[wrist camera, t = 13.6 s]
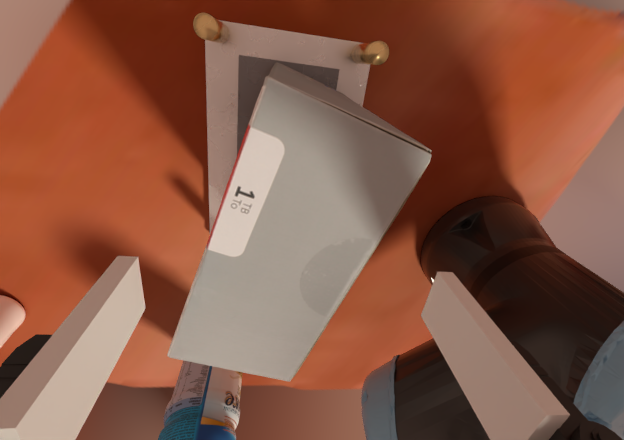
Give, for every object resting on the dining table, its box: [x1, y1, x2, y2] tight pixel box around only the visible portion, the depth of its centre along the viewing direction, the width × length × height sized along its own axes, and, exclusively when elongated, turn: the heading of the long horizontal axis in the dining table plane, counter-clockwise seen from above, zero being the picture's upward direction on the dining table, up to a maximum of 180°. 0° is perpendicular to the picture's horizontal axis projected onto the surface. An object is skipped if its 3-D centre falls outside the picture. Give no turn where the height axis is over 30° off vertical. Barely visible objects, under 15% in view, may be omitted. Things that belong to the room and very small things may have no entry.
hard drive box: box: [167, 62, 432, 381], centre depth 23 cm, size 16×8×20 cm, turn 155°
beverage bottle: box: [158, 361, 242, 440], centre depth 37 cm, size 8×8×20 cm
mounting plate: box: [193, 13, 389, 234], centre depth 30 cm, size 15×22×7 cm
